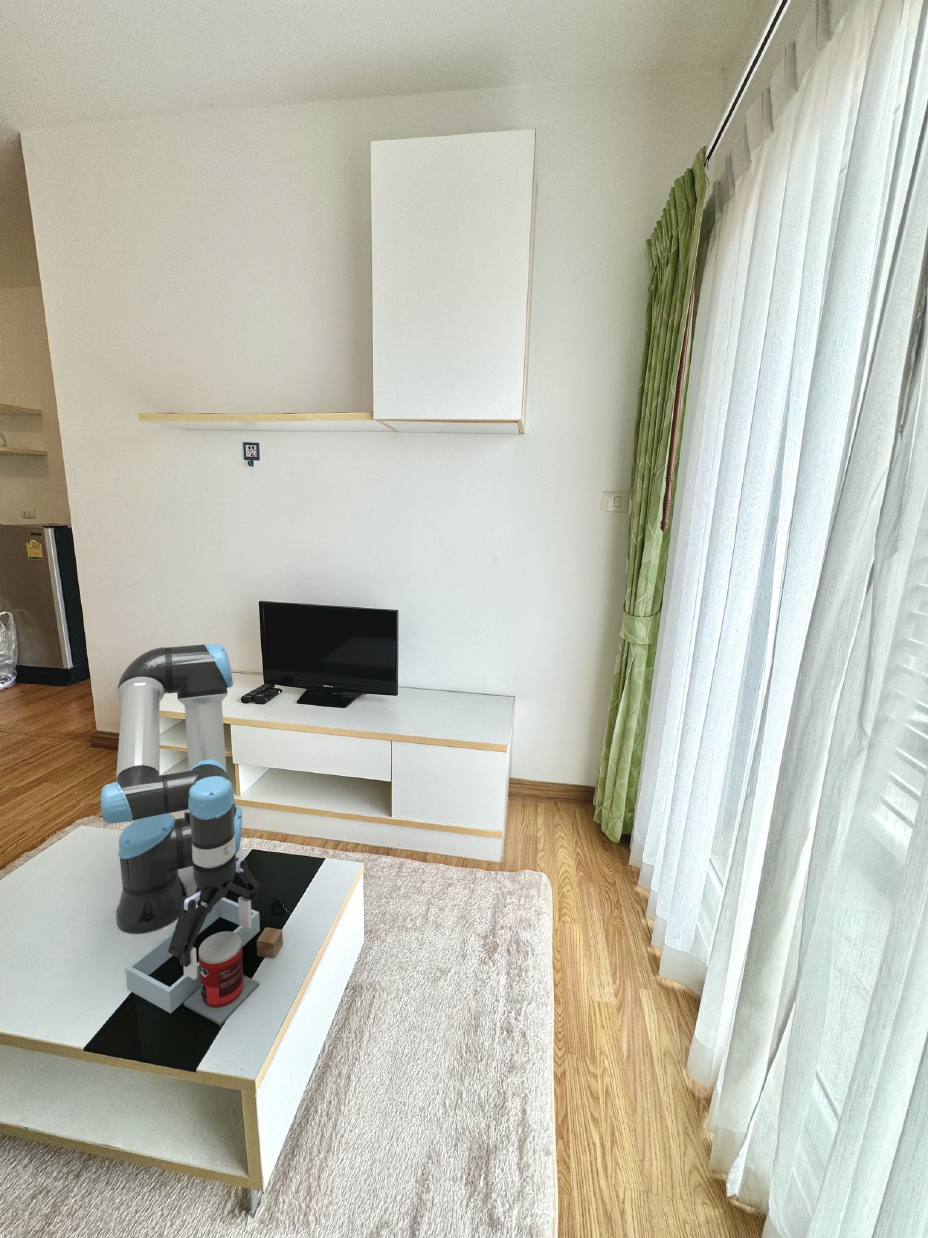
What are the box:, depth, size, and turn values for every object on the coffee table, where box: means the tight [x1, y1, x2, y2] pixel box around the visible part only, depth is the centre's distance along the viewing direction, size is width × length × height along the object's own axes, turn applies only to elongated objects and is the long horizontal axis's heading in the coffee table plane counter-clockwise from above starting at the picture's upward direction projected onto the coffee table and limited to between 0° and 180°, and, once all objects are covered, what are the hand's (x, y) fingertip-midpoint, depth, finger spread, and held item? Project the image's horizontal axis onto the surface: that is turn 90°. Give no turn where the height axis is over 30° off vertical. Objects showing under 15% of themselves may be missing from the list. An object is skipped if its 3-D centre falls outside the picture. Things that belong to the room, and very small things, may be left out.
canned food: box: [198, 930, 244, 1007], centre depth 109 cm, size 8×8×11 cm
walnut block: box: [256, 927, 284, 960], centre depth 121 cm, size 4×4×4 cm
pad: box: [183, 974, 260, 1026], centre depth 110 cm, size 10×10×1 cm
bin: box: [124, 897, 261, 1014], centre depth 118 cm, size 13×24×5 cm, turn 157°
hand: (219, 949), depth 108 cm, fingers open, 13 cm apart
